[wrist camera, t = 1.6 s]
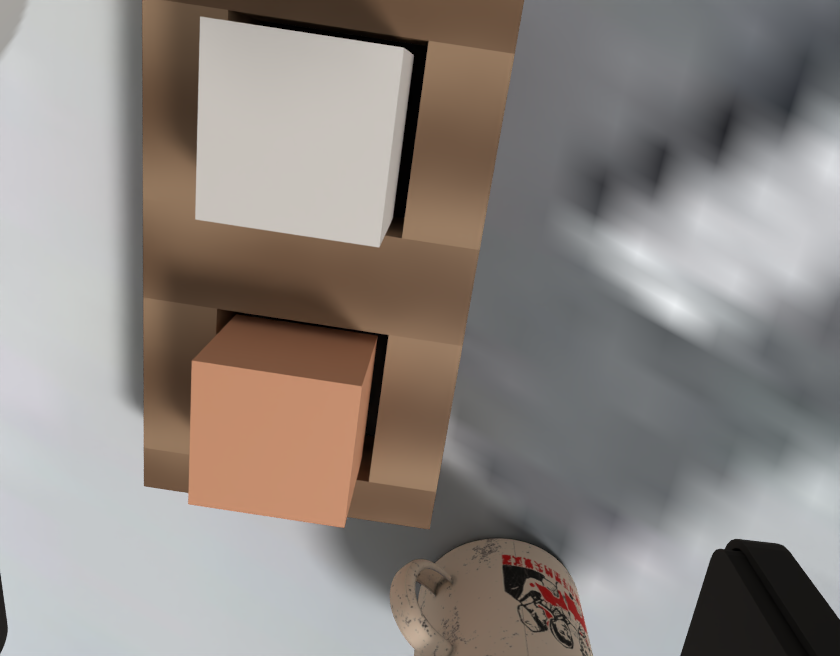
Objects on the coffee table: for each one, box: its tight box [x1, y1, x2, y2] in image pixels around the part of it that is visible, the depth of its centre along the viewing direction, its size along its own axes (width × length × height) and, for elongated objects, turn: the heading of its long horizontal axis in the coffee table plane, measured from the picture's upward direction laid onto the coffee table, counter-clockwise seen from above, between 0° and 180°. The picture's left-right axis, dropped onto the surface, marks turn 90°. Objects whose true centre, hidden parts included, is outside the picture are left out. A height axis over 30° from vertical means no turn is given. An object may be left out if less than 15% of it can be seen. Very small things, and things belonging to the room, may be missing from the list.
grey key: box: [195, 17, 414, 247], centre depth 23 cm, size 6×6×5 cm
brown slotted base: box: [142, 0, 524, 529], centre depth 28 cm, size 22×13×4 cm, turn 172°
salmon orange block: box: [188, 314, 378, 528], centre depth 26 cm, size 6×6×5 cm
